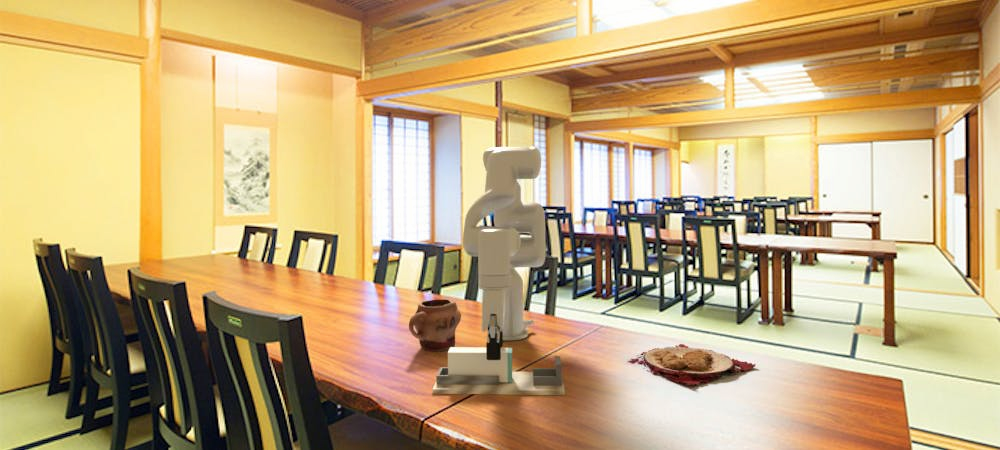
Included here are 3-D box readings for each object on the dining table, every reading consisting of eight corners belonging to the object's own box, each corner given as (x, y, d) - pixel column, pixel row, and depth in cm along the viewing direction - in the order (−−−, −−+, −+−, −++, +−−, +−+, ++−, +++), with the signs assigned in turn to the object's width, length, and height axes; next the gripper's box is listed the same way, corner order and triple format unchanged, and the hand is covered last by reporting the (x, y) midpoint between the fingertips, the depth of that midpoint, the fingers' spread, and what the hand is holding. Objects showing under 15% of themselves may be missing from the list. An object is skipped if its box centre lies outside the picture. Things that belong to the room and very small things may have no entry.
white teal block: (448, 381, 119) (447, 352, 119) (450, 375, 123) (450, 347, 123) (511, 382, 119) (511, 352, 118) (512, 376, 123) (512, 347, 122)
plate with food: (756, 372, 130) (757, 358, 130) (689, 389, 117) (690, 374, 117) (681, 349, 151) (681, 337, 151) (617, 362, 138) (617, 349, 138)
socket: (533, 385, 117) (533, 364, 117) (533, 376, 123) (532, 355, 123) (561, 385, 117) (561, 364, 117) (559, 376, 123) (559, 356, 123)
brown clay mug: (430, 361, 138) (429, 311, 137) (396, 355, 144) (395, 306, 143) (470, 342, 155) (470, 297, 154) (438, 337, 161) (438, 294, 160)
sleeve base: (432, 393, 116) (432, 380, 115) (441, 374, 128) (441, 363, 127) (564, 395, 114) (564, 382, 114) (561, 376, 126) (561, 364, 126)
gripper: (481, 276, 128) (482, 343, 129) (474, 287, 111) (475, 364, 112) (511, 276, 128) (511, 343, 128) (509, 287, 110) (509, 365, 111)
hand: (494, 353), depth 120 cm, fingers open, 9 cm apart
